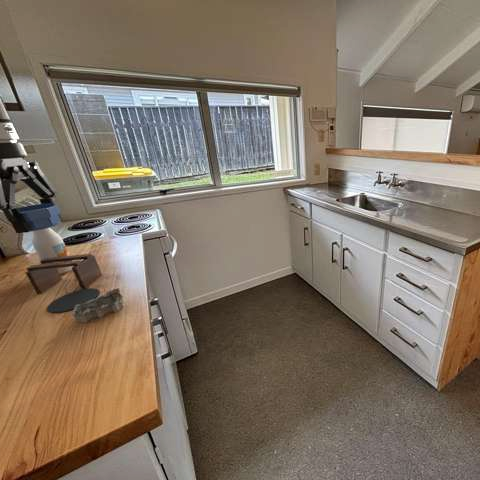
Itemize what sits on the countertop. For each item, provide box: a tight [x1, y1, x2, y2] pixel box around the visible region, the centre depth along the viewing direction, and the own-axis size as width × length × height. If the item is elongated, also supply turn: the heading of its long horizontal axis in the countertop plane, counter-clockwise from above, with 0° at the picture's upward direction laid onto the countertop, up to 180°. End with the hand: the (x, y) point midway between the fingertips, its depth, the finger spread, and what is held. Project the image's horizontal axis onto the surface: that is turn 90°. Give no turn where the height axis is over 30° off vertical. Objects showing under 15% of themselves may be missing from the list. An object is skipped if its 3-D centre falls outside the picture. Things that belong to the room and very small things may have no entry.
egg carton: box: [71, 288, 124, 324], centre depth 72 cm, size 11×8×4 cm
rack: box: [25, 253, 103, 295], centre depth 85 cm, size 14×9×9 cm, turn 99°
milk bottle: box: [32, 227, 74, 275], centre depth 93 cm, size 8×8×20 cm
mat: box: [46, 287, 100, 314], centre depth 78 cm, size 12×12×1 cm
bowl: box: [9, 202, 63, 232], centre depth 72 cm, size 10×10×6 cm
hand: (40, 225), depth 73 cm, fingers closed on bowl, 10 cm apart
